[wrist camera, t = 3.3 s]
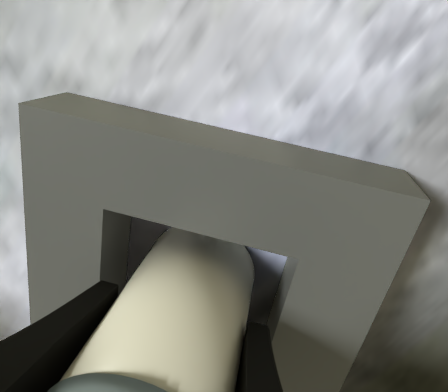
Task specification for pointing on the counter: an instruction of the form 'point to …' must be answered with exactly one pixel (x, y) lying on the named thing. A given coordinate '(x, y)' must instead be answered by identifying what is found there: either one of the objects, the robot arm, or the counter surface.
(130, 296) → the cartridge
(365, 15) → the counter surface
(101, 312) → the robot arm
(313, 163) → the housing
